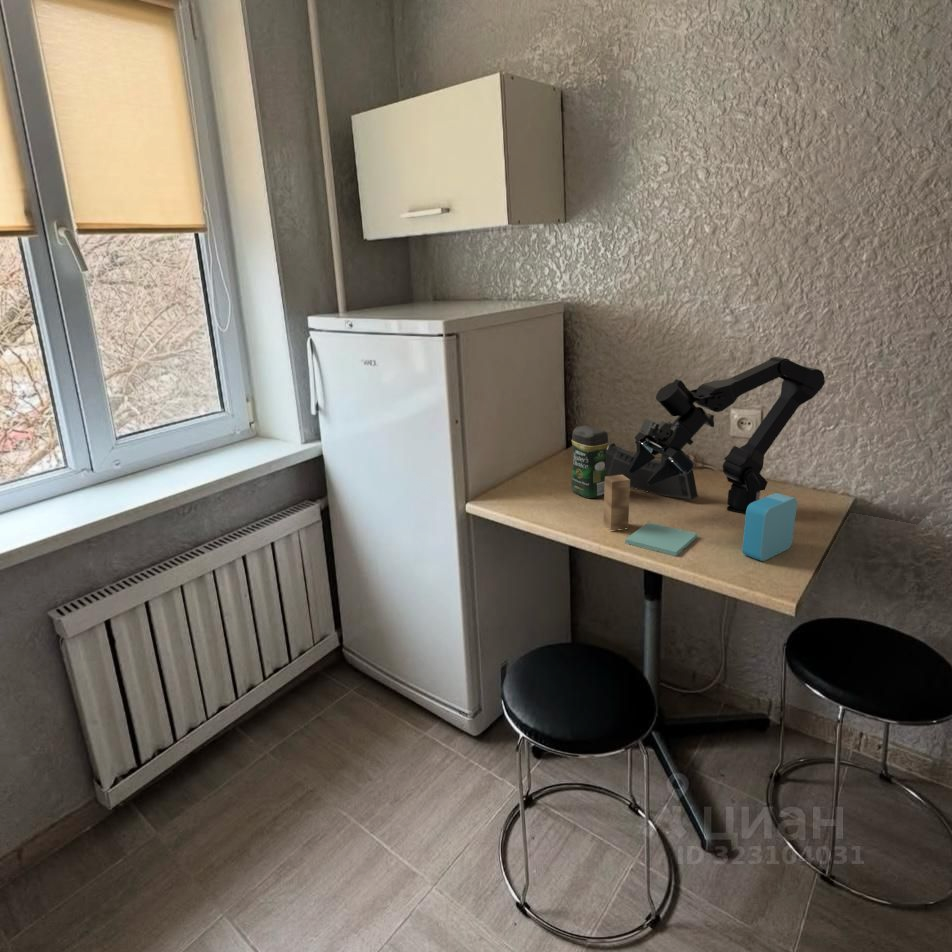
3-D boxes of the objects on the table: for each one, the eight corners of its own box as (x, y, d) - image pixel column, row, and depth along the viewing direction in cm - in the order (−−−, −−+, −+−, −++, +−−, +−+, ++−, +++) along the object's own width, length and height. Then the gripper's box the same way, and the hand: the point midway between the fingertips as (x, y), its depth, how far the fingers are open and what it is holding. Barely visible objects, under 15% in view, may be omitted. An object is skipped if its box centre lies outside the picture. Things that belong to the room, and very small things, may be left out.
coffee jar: (566, 491, 182) (566, 426, 176) (588, 485, 186) (589, 421, 180) (589, 501, 175) (590, 433, 169) (611, 495, 178) (613, 428, 172)
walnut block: (620, 523, 160) (622, 474, 156) (628, 529, 156) (630, 479, 152) (603, 525, 159) (604, 476, 155) (610, 531, 155) (612, 481, 151)
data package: (772, 541, 147) (778, 491, 143) (792, 547, 144) (798, 496, 140) (740, 556, 141) (746, 504, 137) (760, 563, 137) (766, 510, 133)
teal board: (697, 537, 150) (697, 533, 150) (675, 556, 142) (676, 552, 141) (648, 525, 158) (648, 522, 157) (625, 543, 149) (625, 539, 149)
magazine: (709, 470, 167) (617, 419, 185) (702, 473, 165) (609, 422, 183) (687, 524, 176) (601, 471, 194) (680, 528, 174) (594, 474, 191)
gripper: (643, 398, 160) (600, 446, 161) (685, 415, 142) (636, 469, 143) (670, 427, 164) (628, 474, 165) (714, 447, 147) (666, 498, 148)
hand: (638, 478), depth 155 cm, fingers open, 9 cm apart
